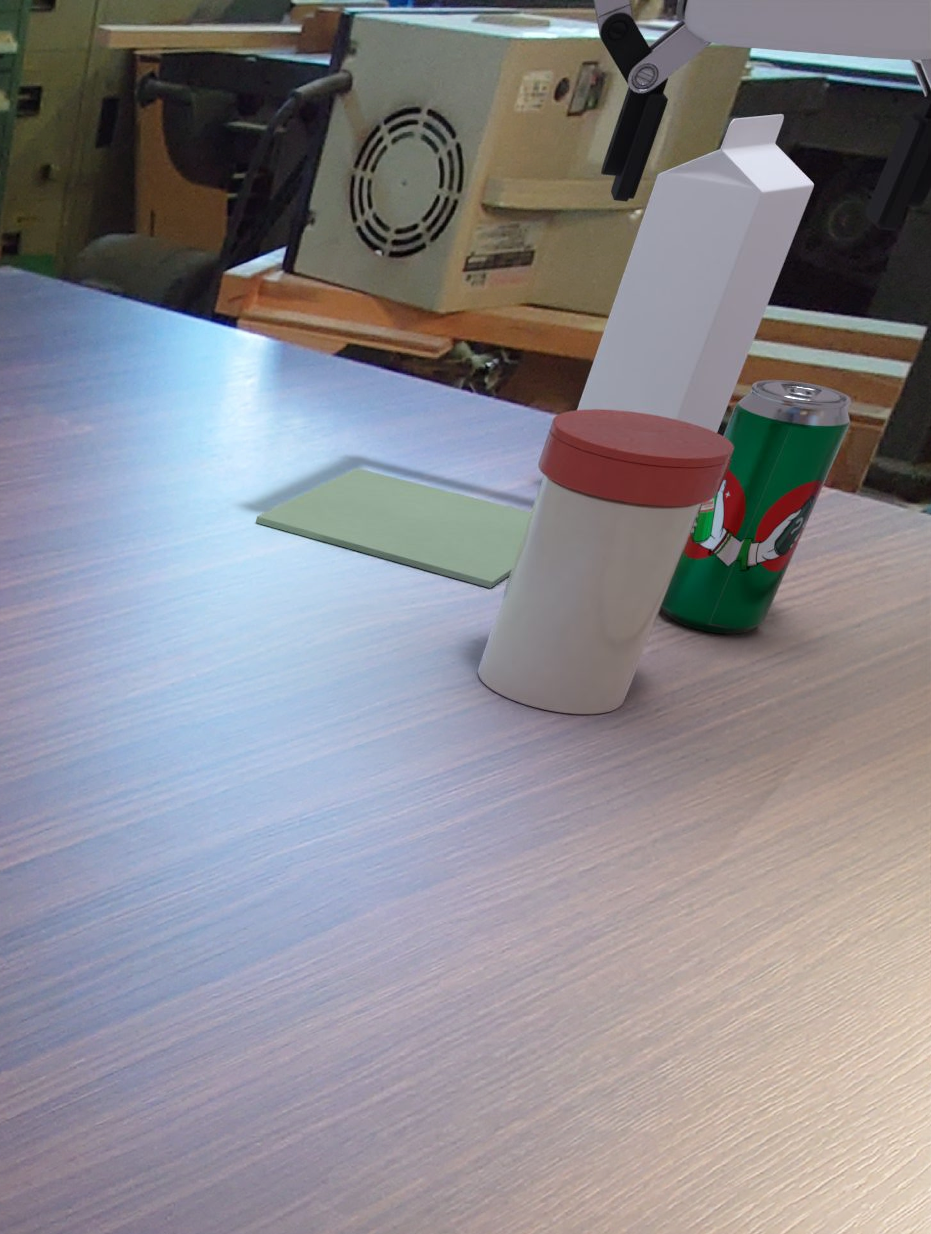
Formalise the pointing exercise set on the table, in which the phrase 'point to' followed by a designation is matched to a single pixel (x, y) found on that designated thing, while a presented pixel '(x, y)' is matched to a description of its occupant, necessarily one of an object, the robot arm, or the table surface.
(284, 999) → the table surface
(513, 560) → the mat
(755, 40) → the robot arm
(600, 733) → the table surface
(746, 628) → the soda can
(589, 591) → the jar
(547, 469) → the lid
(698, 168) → the milk
